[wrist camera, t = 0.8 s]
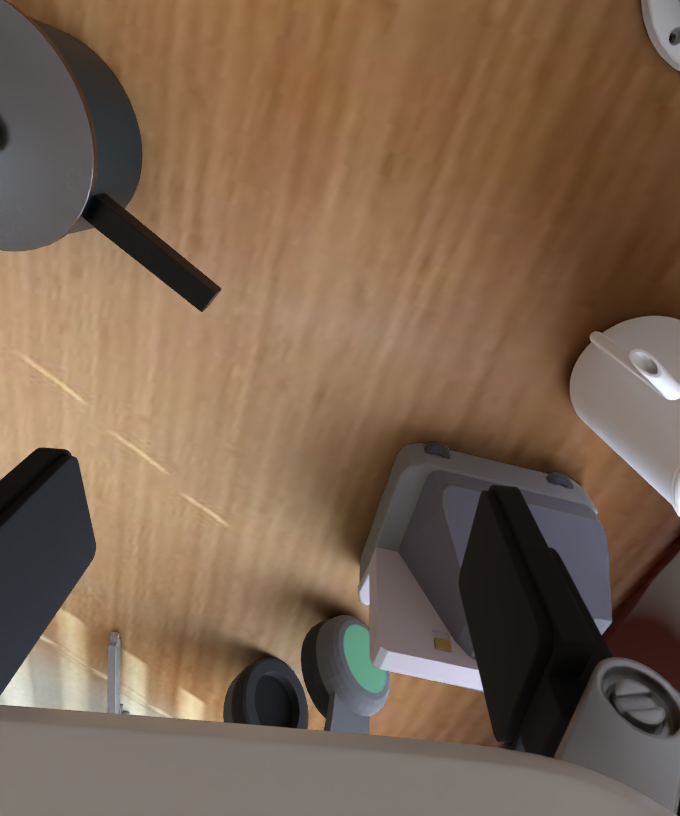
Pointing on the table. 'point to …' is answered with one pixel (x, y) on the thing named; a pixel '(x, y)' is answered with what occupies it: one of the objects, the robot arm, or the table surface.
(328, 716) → the headphones
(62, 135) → the saucepan
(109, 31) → the table surface
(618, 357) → the coffeepot
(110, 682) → the caliper
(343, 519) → the table surface
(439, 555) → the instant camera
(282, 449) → the table surface
